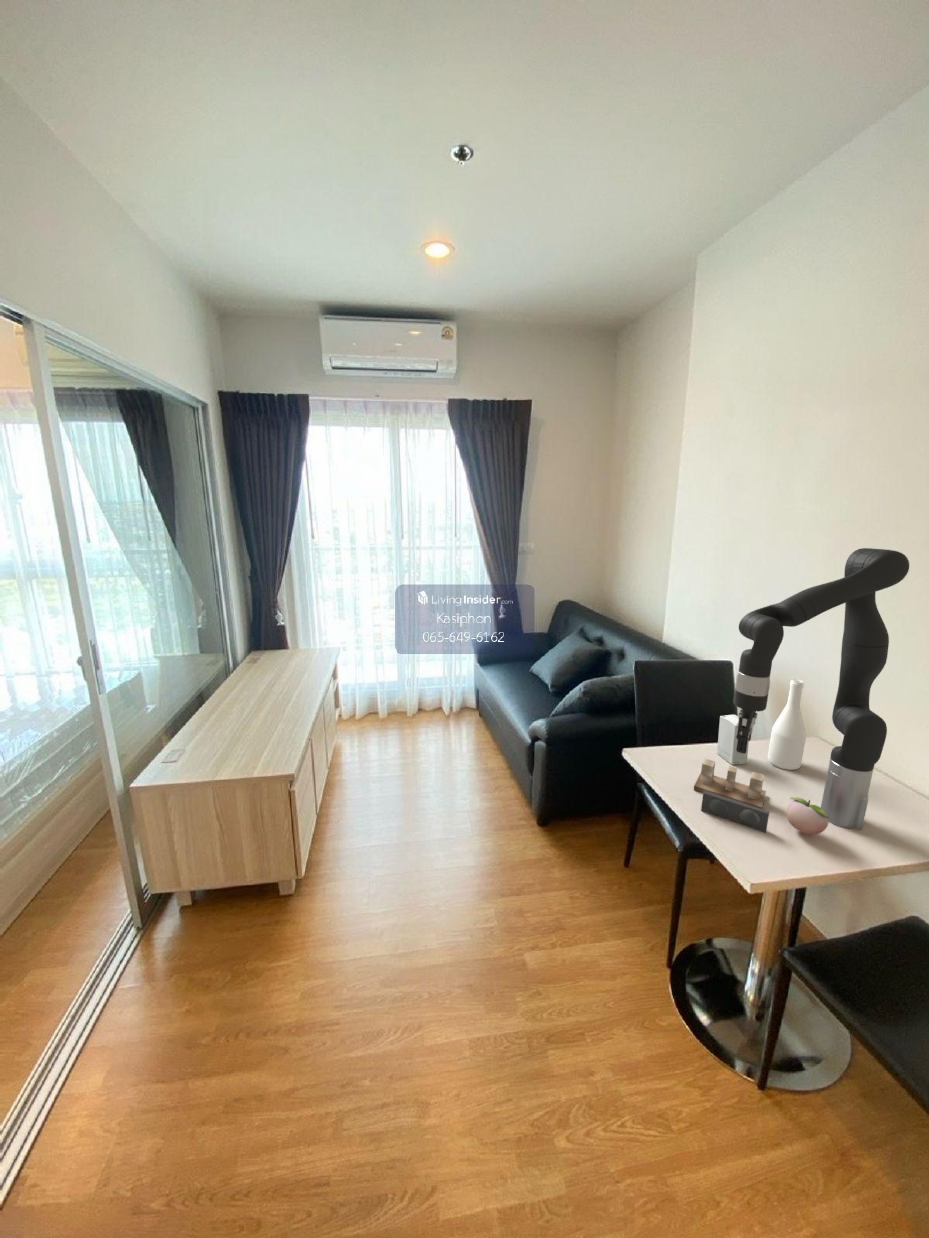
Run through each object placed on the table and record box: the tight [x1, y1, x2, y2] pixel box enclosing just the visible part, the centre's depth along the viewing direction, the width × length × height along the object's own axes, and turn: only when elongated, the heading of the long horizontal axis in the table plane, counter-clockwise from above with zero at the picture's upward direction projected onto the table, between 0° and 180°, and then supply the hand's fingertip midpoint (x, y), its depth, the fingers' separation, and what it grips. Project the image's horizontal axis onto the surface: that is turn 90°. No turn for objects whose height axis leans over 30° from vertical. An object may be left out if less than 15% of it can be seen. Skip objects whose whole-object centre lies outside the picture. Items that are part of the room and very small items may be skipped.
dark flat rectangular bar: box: [700, 791, 770, 834], centre depth 132 cm, size 16×2×6 cm, turn 53°
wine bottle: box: [767, 678, 807, 771], centre depth 157 cm, size 10×10×30 cm
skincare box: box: [716, 714, 750, 765], centre depth 163 cm, size 8×6×15 cm
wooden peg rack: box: [693, 758, 767, 809], centre depth 144 cm, size 18×10×8 cm, turn 53°
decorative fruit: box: [785, 796, 829, 836], centre depth 125 cm, size 9×8×10 cm
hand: (743, 745), depth 127 cm, fingers open, 8 cm apart
